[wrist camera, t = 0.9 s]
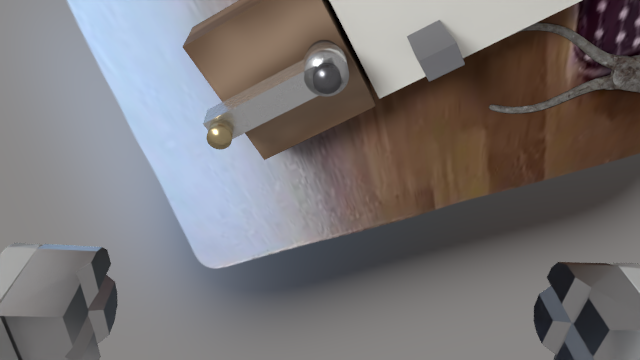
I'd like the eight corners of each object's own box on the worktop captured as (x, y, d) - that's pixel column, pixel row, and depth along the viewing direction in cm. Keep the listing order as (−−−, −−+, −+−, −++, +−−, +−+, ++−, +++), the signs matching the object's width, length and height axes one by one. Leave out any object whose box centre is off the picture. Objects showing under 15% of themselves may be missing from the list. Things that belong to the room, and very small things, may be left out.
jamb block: (192, 27, 45) (179, 52, 40) (306, -40, 42) (308, -22, 37) (266, 134, 52) (263, 166, 47) (369, 83, 49) (377, 112, 44)
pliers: (494, 30, 46) (713, -7, 45) (490, 27, 47) (706, -10, 46) (489, 120, 52) (684, 89, 50) (486, 116, 52) (679, 85, 51)
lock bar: (334, 34, 39) (337, 53, 36) (353, 71, 41) (358, 92, 38) (203, 104, 42) (195, 127, 39) (226, 135, 44) (221, 159, 41)
